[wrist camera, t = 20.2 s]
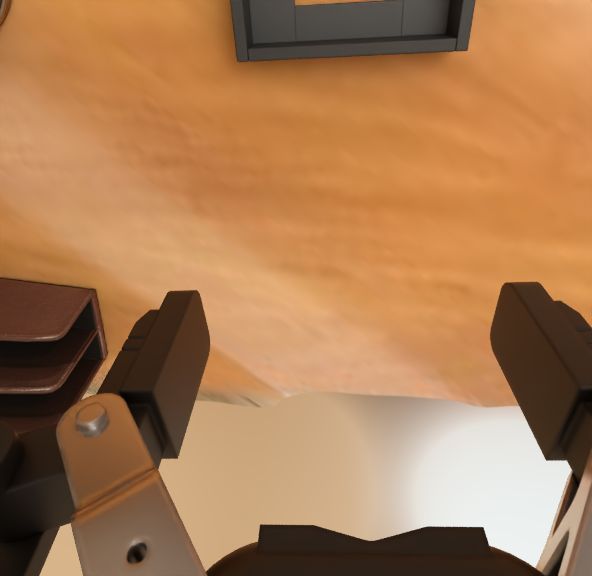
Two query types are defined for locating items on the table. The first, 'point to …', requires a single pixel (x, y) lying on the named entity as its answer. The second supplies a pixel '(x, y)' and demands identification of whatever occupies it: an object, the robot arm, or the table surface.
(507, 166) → the table surface
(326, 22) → the dark grey rectangular frame
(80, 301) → the letter holder
